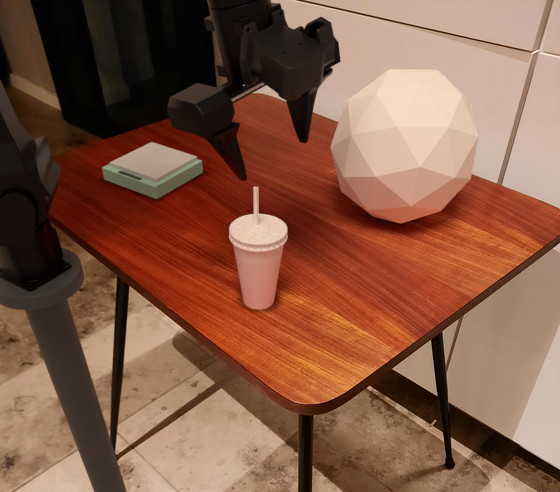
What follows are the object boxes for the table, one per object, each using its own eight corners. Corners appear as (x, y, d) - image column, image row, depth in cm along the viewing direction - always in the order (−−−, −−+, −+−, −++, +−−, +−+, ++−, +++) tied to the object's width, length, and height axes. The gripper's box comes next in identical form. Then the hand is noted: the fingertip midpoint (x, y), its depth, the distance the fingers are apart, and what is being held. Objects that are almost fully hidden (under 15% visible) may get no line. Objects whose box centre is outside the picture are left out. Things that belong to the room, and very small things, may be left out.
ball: (419, 251, 88) (532, 172, 72) (324, 243, 75) (436, 146, 60) (381, 149, 92) (481, 55, 77) (286, 126, 80) (382, 8, 65)
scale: (156, 199, 84) (154, 183, 82) (104, 179, 88) (100, 163, 86) (203, 172, 90) (201, 156, 88) (152, 155, 94) (149, 140, 92)
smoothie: (271, 279, 70) (273, 171, 60) (294, 308, 66) (300, 197, 56) (223, 291, 68) (217, 182, 58) (244, 322, 64) (241, 210, 54)
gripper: (210, 45, 43) (257, 222, 54) (374, -36, 49) (385, 137, 60) (137, 34, 49) (192, 193, 60) (290, -36, 56) (314, 120, 67)
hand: (274, 160), depth 62 cm, fingers open, 9 cm apart
